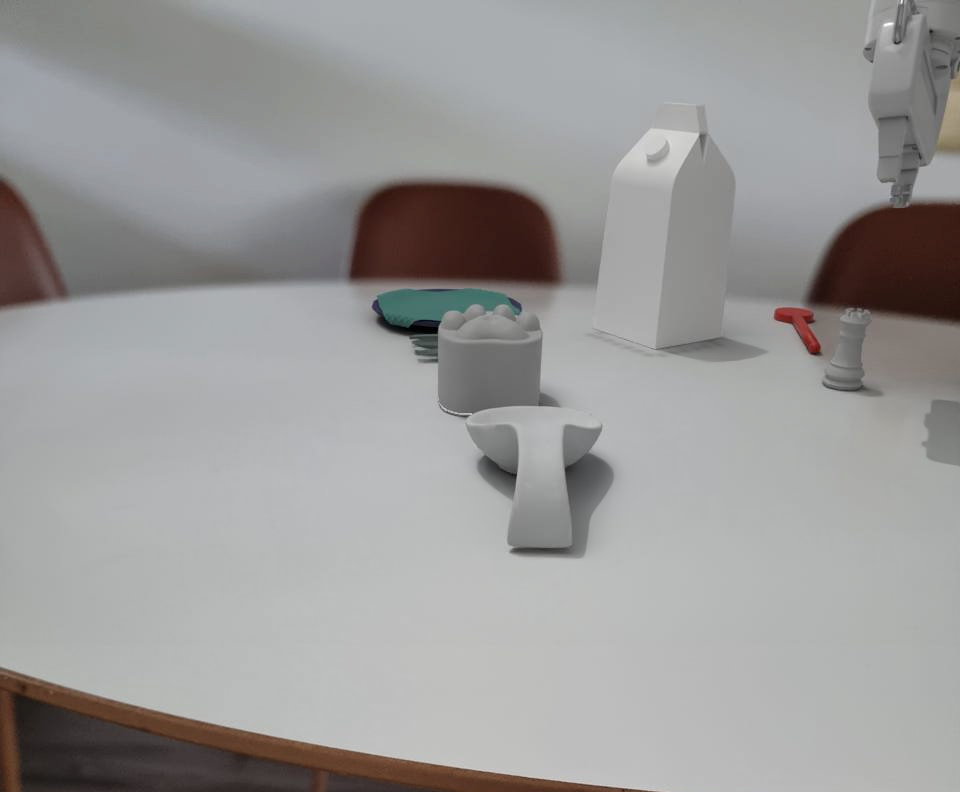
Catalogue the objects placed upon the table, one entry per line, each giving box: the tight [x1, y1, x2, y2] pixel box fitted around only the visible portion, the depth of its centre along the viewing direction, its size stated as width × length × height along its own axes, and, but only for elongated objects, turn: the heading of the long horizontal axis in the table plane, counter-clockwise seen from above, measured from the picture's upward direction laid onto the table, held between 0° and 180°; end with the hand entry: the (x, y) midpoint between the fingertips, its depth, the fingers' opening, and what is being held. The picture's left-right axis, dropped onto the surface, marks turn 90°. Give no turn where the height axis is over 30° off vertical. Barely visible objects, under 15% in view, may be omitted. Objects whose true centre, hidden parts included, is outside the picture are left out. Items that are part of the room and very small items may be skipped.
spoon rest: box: [465, 405, 603, 549], centre depth 79 cm, size 24×12×7 cm, turn 0°
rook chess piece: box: [821, 307, 873, 391], centre depth 106 cm, size 4×4×8 cm
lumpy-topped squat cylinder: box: [437, 304, 544, 417], centre depth 99 cm, size 10×13×9 cm
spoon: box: [773, 306, 822, 355], centre depth 127 cm, size 21×5×1 cm, turn 172°
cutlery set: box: [371, 287, 523, 357], centre depth 125 cm, size 20×30×2 cm, turn 10°
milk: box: [591, 101, 737, 350], centre depth 119 cm, size 12×12×26 cm
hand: (893, 194), depth 91 cm, fingers open, 8 cm apart
